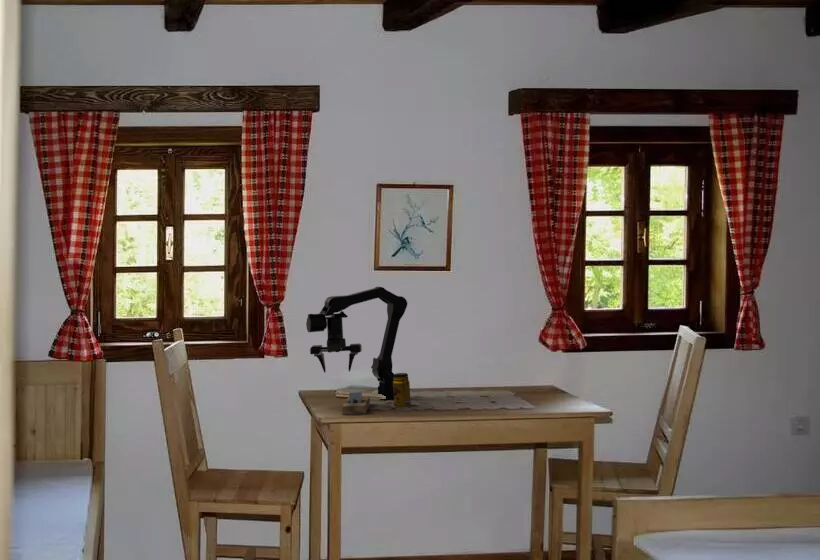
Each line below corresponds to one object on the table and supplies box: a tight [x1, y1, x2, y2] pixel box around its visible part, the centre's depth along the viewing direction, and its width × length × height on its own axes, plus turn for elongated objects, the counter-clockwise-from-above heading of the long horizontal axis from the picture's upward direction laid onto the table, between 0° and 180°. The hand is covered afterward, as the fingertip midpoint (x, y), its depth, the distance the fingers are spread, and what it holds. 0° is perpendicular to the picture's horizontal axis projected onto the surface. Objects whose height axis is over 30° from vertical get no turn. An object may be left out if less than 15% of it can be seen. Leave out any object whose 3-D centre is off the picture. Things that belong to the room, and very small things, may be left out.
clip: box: [348, 390, 363, 403], centre depth 377 cm, size 4×4×7 cm
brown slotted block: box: [341, 395, 371, 415], centre depth 378 cm, size 8×20×3 cm, turn 177°
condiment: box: [390, 372, 419, 409], centre depth 380 cm, size 7×8×12 cm
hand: (337, 371), depth 391 cm, fingers open, 9 cm apart
